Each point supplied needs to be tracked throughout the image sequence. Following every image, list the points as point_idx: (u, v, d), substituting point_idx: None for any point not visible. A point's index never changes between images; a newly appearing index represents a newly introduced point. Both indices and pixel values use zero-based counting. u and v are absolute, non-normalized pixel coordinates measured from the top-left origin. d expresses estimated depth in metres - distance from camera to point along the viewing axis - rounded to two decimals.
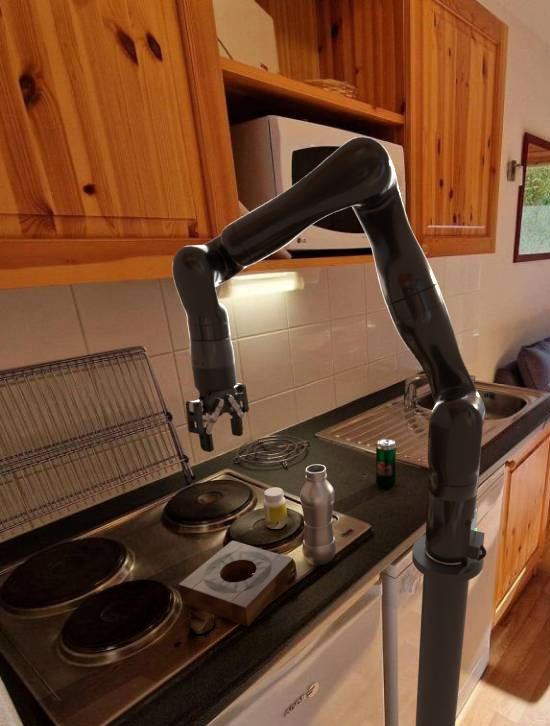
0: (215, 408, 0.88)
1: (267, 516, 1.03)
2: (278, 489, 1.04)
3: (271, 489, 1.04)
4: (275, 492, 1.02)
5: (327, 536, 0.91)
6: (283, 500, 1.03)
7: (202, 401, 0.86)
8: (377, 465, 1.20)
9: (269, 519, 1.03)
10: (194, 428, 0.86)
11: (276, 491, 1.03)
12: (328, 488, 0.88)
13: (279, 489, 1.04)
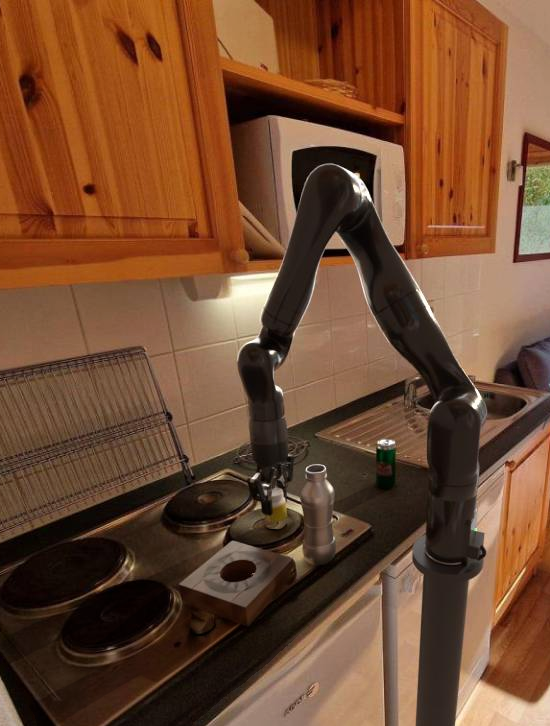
0: (271, 478, 0.98)
1: (267, 516, 1.03)
2: (278, 489, 1.04)
3: None
4: (275, 492, 1.02)
5: (326, 536, 0.91)
6: (283, 500, 1.03)
7: (260, 475, 0.96)
8: (377, 465, 1.20)
9: (269, 519, 1.03)
10: (258, 497, 0.98)
11: (276, 491, 1.03)
12: (328, 488, 0.88)
13: (279, 489, 1.04)
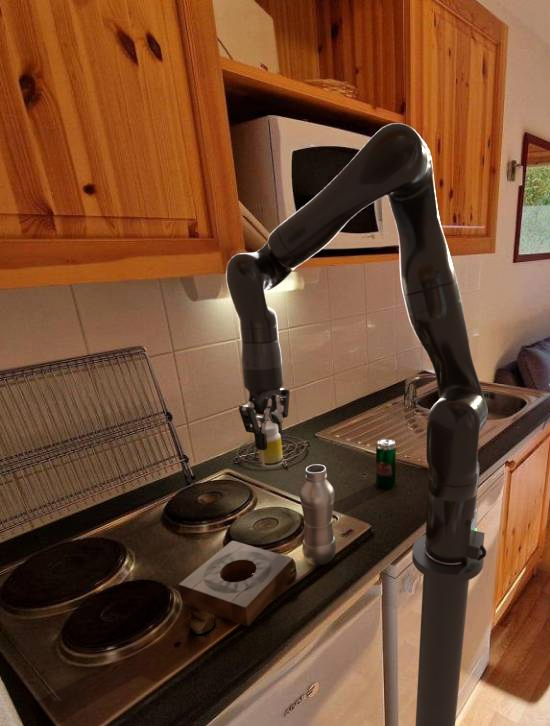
0: (265, 409, 0.93)
1: (261, 452, 0.97)
2: (273, 424, 0.98)
3: None
4: (269, 426, 0.96)
5: (327, 536, 0.91)
6: (278, 435, 0.97)
7: (253, 403, 0.91)
8: (377, 465, 1.20)
9: (264, 455, 0.97)
10: (251, 428, 0.92)
11: (271, 425, 0.97)
12: (328, 488, 0.88)
13: (274, 424, 0.98)
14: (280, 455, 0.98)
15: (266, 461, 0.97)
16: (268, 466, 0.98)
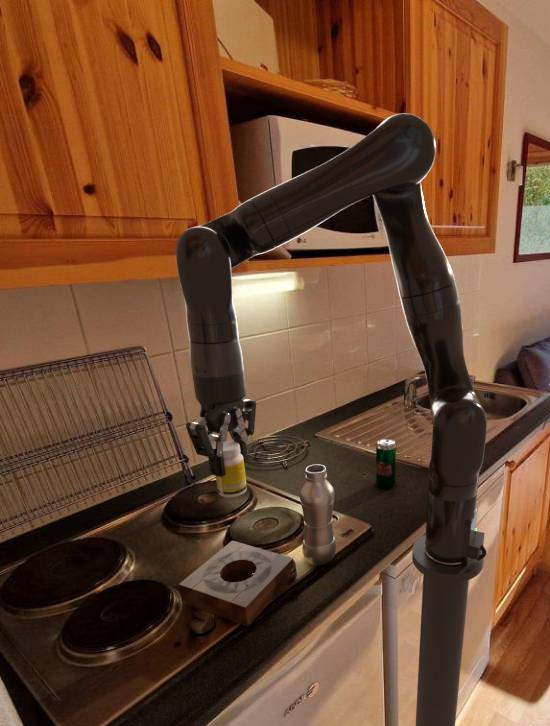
0: (222, 426, 0.74)
1: (218, 478, 0.78)
2: (233, 443, 0.79)
3: (224, 443, 0.79)
4: (229, 447, 0.77)
5: (326, 536, 0.91)
6: (240, 457, 0.78)
7: (204, 419, 0.72)
8: (377, 465, 1.20)
9: (221, 482, 0.78)
10: (203, 450, 0.73)
11: (231, 446, 0.78)
12: (328, 488, 0.88)
13: (235, 443, 0.79)
14: (242, 482, 0.79)
15: (225, 490, 0.78)
16: (227, 496, 0.79)
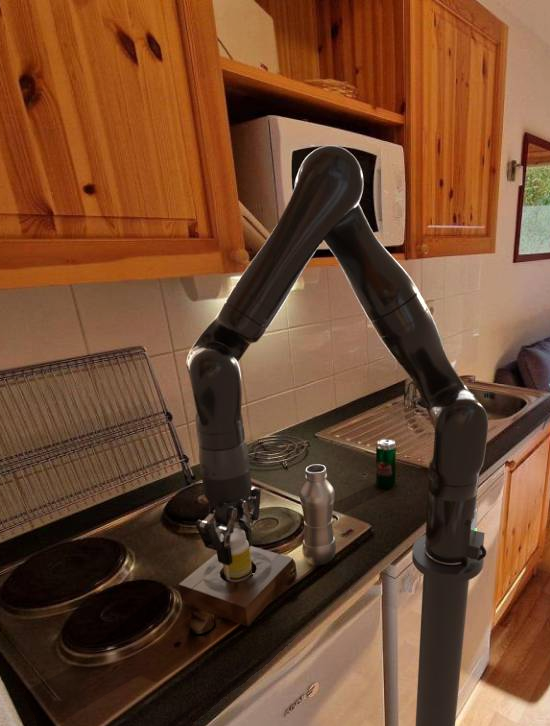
0: (229, 520, 0.78)
1: (225, 565, 0.82)
2: (239, 531, 0.83)
3: None
4: (235, 536, 0.82)
5: (326, 536, 0.91)
6: (245, 545, 0.83)
7: (213, 517, 0.76)
8: (377, 465, 1.20)
9: (228, 568, 0.82)
10: (211, 544, 0.77)
11: (237, 534, 0.82)
12: (328, 488, 0.88)
13: (241, 531, 0.83)
14: (248, 567, 0.84)
15: (231, 575, 0.83)
16: (234, 581, 0.83)
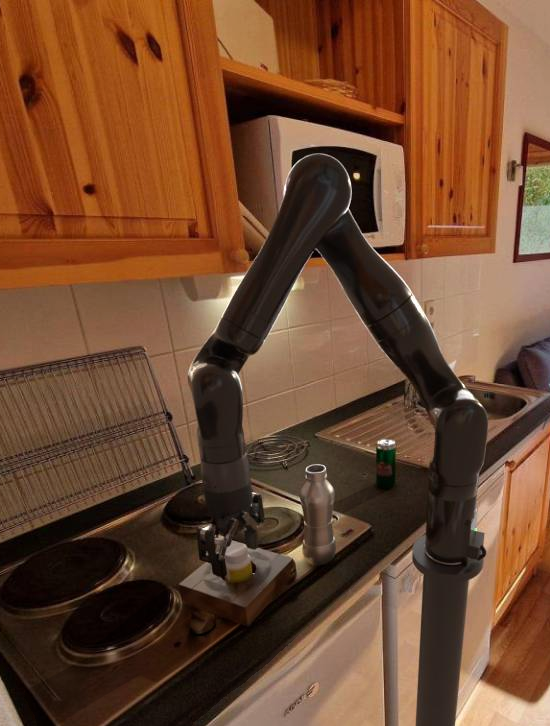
0: (229, 531, 0.78)
1: (227, 580, 0.84)
2: (241, 546, 0.84)
3: (233, 545, 0.85)
4: (237, 551, 0.83)
5: (327, 536, 0.91)
6: (247, 560, 0.84)
7: (214, 526, 0.77)
8: (377, 465, 1.20)
9: None
10: (206, 557, 0.76)
11: (239, 549, 0.84)
12: (328, 488, 0.88)
13: (243, 546, 0.84)
14: None
15: None
16: None
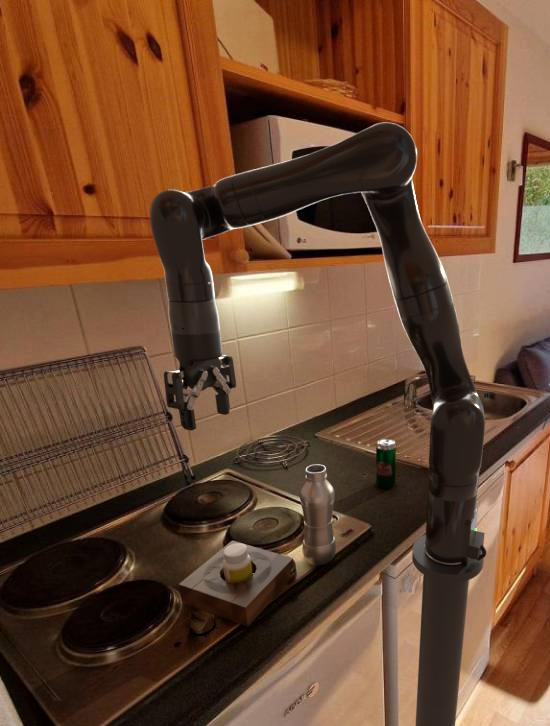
0: (197, 381, 0.78)
1: (227, 580, 0.84)
2: (241, 546, 0.84)
3: (233, 545, 0.85)
4: (237, 551, 0.83)
5: (327, 536, 0.91)
6: (247, 560, 0.84)
7: (182, 372, 0.76)
8: (377, 465, 1.20)
9: None
10: (173, 402, 0.76)
11: (239, 549, 0.84)
12: (328, 488, 0.88)
13: (243, 546, 0.84)
14: None
15: None
16: None
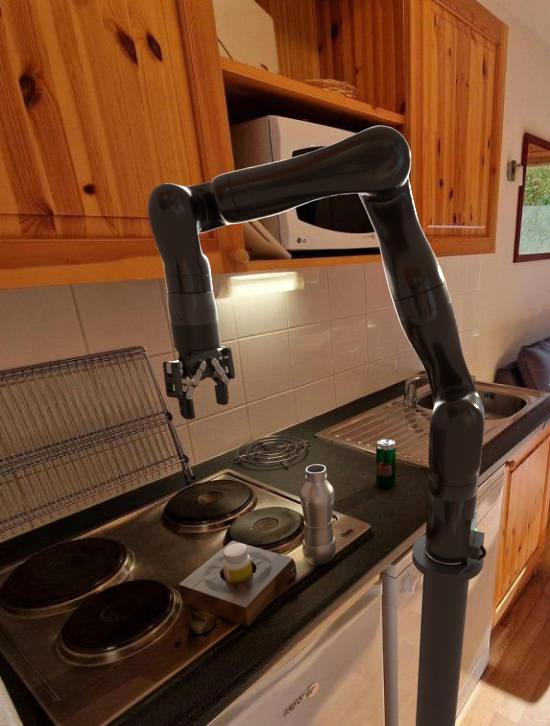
0: (196, 371, 0.80)
1: (227, 580, 0.84)
2: (241, 546, 0.84)
3: (233, 545, 0.85)
4: (237, 551, 0.83)
5: (327, 536, 0.91)
6: (247, 560, 0.84)
7: (181, 362, 0.78)
8: (377, 465, 1.20)
9: None
10: (172, 392, 0.78)
11: (239, 549, 0.84)
12: (328, 488, 0.88)
13: (243, 546, 0.84)
14: None
15: None
16: None
